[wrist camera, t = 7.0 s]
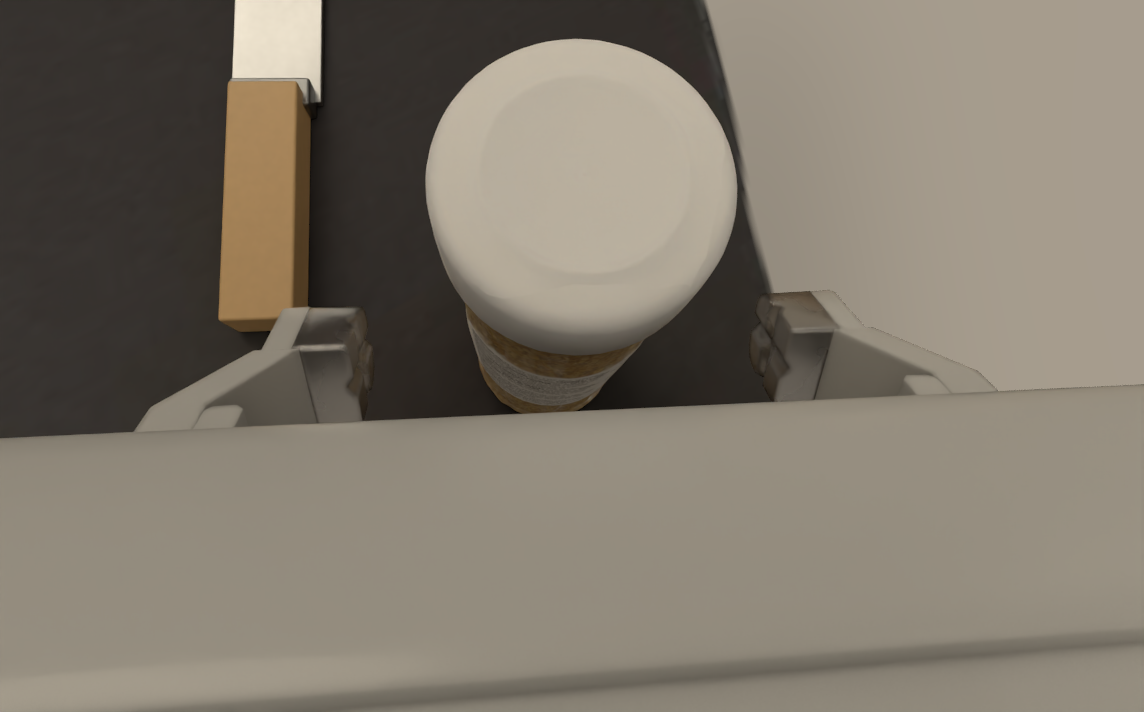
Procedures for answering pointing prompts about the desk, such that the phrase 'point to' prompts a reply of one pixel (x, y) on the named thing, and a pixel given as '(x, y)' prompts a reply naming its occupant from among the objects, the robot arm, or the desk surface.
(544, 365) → the sprinkles bottle
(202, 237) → the desk surface
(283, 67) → the knife
